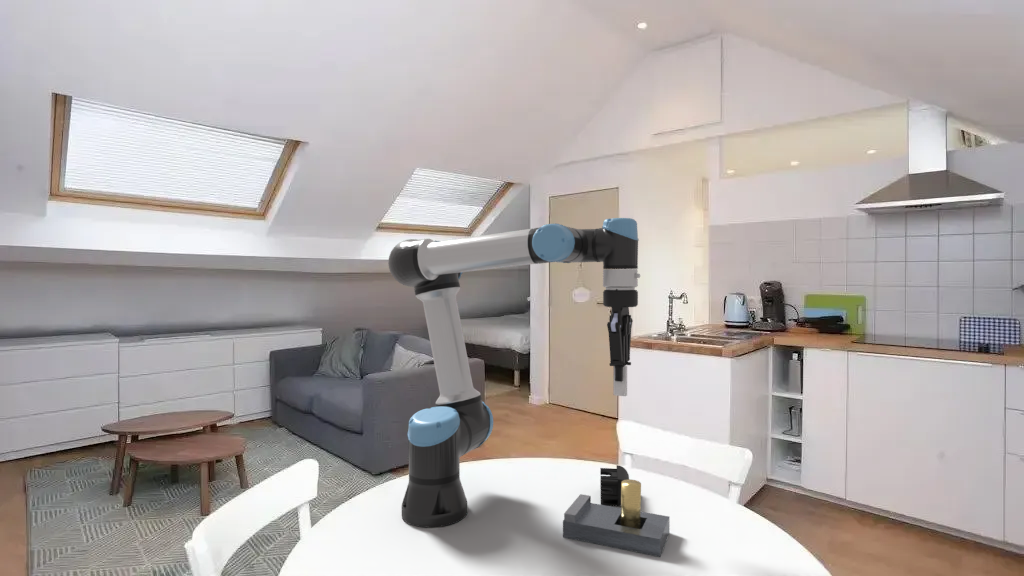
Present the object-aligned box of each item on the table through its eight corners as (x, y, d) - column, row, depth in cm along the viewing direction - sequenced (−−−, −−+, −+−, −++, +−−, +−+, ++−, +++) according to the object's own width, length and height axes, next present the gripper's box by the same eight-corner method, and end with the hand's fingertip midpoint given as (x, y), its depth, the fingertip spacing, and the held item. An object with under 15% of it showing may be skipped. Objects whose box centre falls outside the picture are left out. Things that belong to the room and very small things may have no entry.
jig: (563, 537, 116) (562, 513, 116) (579, 516, 126) (579, 493, 126) (660, 557, 107) (660, 531, 107) (669, 532, 117) (669, 509, 117)
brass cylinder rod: (618, 532, 114) (619, 485, 114) (622, 524, 118) (623, 478, 118) (638, 536, 113) (639, 488, 112) (641, 528, 116) (642, 481, 116)
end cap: (631, 508, 130) (631, 479, 130) (600, 506, 131) (600, 478, 131) (628, 491, 140) (628, 465, 140) (600, 490, 141) (600, 464, 141)
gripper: (630, 289, 114) (630, 403, 115) (643, 288, 126) (643, 390, 127) (595, 289, 118) (595, 399, 118) (611, 287, 129) (611, 388, 130)
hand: (620, 395), depth 123 cm, fingers closed
